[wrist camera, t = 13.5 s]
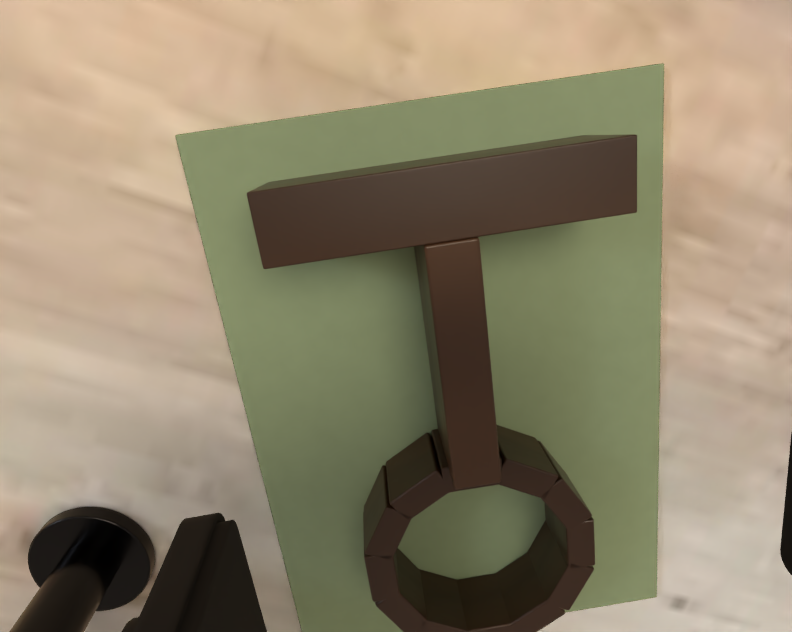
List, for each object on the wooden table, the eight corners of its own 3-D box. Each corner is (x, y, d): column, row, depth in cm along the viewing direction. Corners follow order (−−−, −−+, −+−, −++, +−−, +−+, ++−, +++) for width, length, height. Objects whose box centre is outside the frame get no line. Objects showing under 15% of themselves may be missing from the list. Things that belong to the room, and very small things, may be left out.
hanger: (596, 574, 23) (637, 650, 19) (358, 614, 22) (358, 697, 19) (583, 134, 17) (637, 134, 14) (267, 182, 17) (245, 192, 14)
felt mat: (308, 649, 23) (307, 656, 23) (177, 135, 17) (174, 135, 16) (653, 591, 24) (656, 597, 23) (659, 64, 17) (664, 62, 17)
